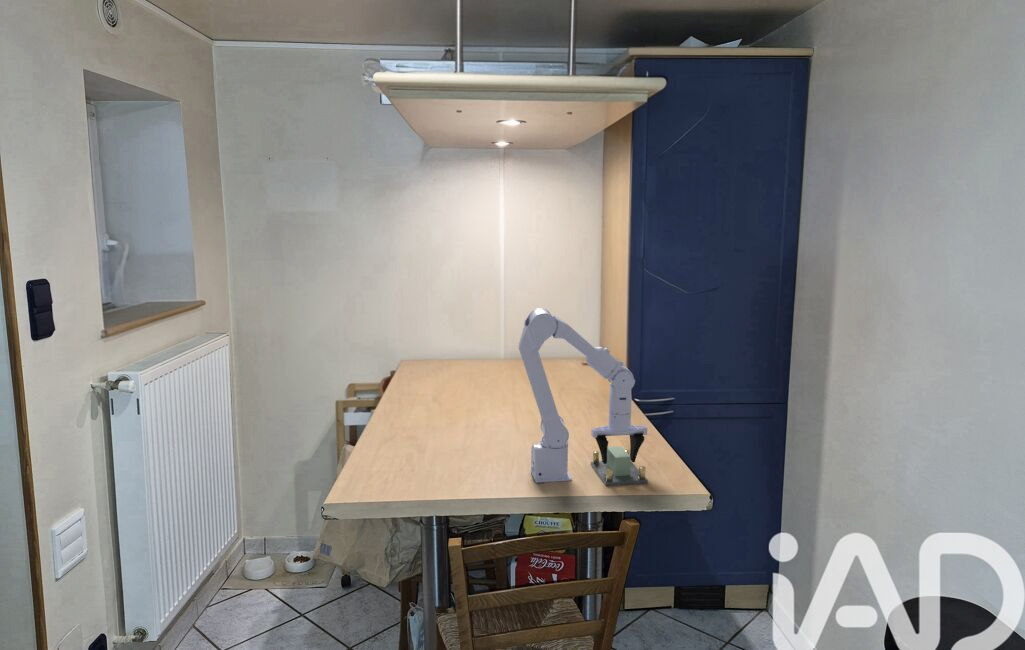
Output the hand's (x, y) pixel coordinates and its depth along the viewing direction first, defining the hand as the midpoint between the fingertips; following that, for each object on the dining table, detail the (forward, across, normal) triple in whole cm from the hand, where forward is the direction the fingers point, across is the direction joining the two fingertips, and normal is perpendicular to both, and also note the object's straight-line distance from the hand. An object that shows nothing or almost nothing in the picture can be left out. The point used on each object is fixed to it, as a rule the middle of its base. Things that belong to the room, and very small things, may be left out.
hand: (618, 461), depth 183 cm
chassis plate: (+3, 0, 0) cm, 3 cm away
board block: (+2, 0, 0) cm, 2 cm away
